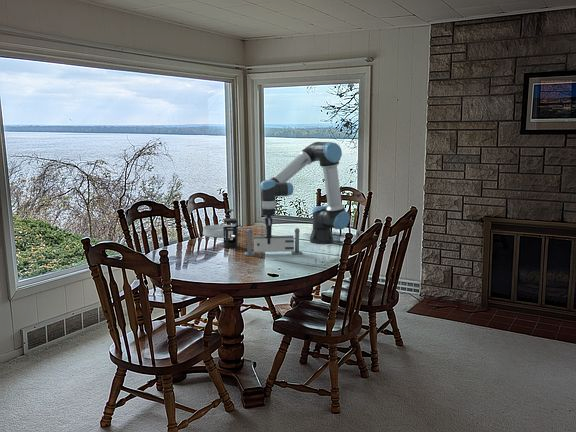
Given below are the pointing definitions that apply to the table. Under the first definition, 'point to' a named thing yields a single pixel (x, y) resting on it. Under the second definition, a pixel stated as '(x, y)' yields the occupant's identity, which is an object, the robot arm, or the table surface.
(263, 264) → the table surface
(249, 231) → the posts
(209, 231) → the dish
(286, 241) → the grey long flat block
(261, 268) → the table surface
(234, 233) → the french press
